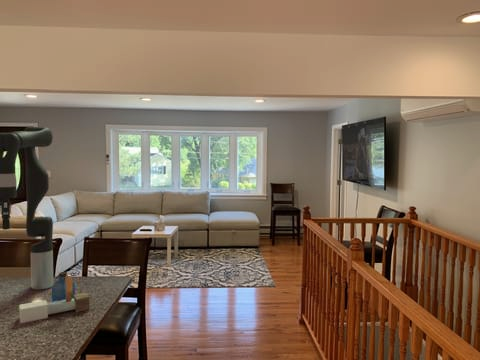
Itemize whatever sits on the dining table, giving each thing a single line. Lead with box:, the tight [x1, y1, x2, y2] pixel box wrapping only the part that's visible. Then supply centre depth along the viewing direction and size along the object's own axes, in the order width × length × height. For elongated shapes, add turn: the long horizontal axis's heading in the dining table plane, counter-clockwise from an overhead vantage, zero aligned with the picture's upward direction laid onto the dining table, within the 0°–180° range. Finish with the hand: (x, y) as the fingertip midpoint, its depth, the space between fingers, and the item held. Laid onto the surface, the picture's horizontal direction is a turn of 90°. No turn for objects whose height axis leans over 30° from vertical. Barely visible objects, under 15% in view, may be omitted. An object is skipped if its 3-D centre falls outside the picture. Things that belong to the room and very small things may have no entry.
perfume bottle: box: [51, 271, 76, 302], centre depth 155 cm, size 6×6×12 cm
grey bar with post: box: [47, 274, 76, 315], centre depth 143 cm, size 3×16×13 cm, turn 123°
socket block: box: [74, 292, 90, 313], centre depth 147 cm, size 5×5×5 cm
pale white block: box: [18, 299, 49, 324], centre depth 138 cm, size 5×9×5 cm, turn 123°
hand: (6, 227), depth 139 cm, fingers open, 8 cm apart
